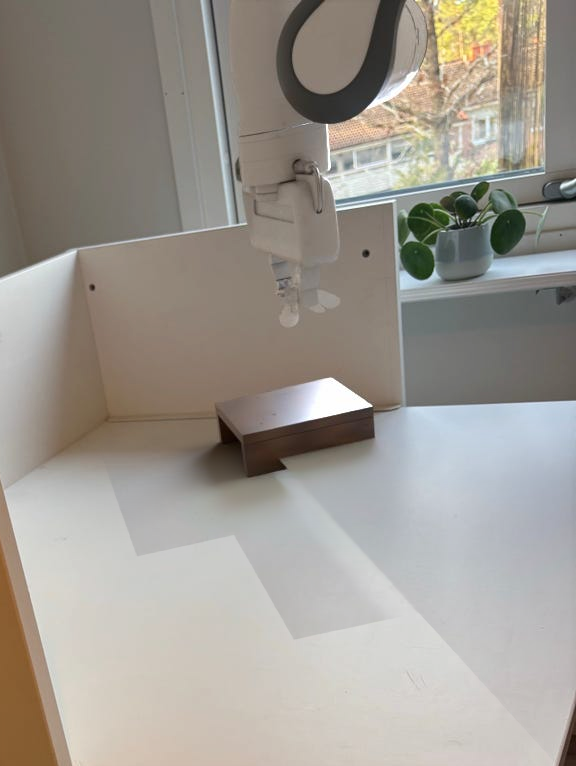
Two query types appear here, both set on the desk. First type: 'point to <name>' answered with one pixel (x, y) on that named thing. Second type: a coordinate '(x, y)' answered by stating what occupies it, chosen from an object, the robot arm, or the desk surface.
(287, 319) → the fairy figurine
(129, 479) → the desk surface
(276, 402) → the display shelf
